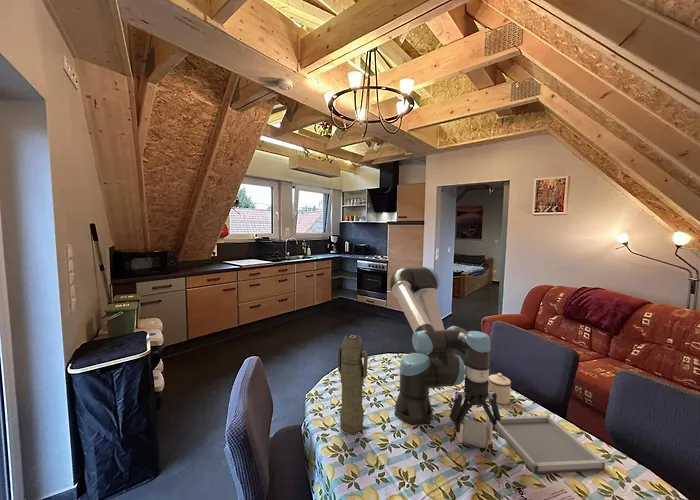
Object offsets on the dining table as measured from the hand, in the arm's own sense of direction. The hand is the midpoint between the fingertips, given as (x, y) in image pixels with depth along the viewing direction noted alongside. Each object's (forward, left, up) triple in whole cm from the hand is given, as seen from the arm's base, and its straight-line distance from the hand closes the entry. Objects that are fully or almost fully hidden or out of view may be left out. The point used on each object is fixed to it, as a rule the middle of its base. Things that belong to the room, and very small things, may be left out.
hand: (474, 439), depth 99 cm
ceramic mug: (0, +1, -1) cm, 2 cm away
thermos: (-42, +12, -2) cm, 44 cm away
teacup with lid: (+24, +27, -2) cm, 36 cm away
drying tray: (+24, -1, -2) cm, 24 cm away
